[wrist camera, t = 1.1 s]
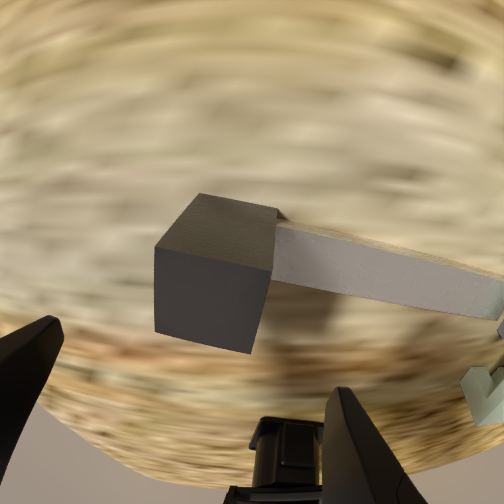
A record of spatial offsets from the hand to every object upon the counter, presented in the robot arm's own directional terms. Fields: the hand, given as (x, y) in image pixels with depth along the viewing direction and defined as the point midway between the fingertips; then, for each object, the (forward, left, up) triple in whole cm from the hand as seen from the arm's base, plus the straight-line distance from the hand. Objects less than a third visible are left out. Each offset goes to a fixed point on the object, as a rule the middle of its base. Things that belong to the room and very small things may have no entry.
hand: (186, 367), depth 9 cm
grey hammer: (0, -8, -9) cm, 12 cm away
